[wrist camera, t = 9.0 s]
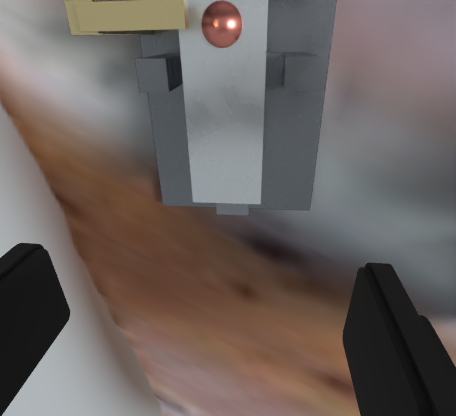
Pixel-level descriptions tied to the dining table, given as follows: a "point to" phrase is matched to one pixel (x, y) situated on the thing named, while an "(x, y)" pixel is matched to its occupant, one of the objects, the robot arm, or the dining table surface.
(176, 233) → the dining table surface
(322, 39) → the collar rail
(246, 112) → the white post with dot
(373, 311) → the robot arm
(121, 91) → the dining table surface
